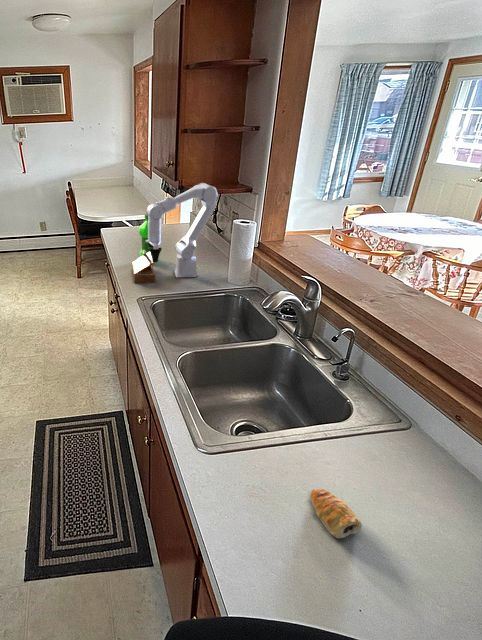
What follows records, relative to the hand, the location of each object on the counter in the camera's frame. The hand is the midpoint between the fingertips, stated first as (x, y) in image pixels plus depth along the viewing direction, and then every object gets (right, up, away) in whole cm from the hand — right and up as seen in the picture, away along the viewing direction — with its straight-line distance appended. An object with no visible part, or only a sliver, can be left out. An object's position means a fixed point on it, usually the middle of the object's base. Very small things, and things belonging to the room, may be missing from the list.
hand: (154, 258), depth 183 cm
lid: (-5, -2, +4) cm, 7 cm away
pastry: (+24, -58, -106) cm, 123 cm away
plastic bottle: (0, 0, +25) cm, 25 cm away
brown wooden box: (-5, -8, +7) cm, 11 cm away
